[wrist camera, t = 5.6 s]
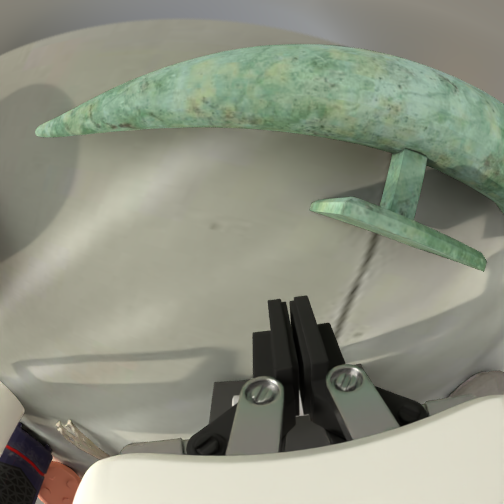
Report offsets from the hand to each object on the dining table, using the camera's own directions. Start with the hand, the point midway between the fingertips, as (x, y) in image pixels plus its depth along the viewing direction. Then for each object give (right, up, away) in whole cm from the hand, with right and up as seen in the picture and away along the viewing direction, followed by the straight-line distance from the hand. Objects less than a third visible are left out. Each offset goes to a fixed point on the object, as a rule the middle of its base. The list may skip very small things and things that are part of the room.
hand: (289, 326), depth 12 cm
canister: (-43, -31, +17) cm, 56 cm away
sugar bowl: (-38, -42, +14) cm, 58 cm away
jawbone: (-21, -25, +16) cm, 36 cm away
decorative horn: (-13, +15, -1) cm, 19 cm away
